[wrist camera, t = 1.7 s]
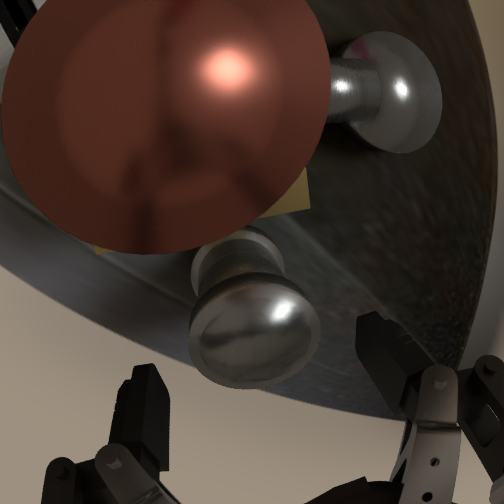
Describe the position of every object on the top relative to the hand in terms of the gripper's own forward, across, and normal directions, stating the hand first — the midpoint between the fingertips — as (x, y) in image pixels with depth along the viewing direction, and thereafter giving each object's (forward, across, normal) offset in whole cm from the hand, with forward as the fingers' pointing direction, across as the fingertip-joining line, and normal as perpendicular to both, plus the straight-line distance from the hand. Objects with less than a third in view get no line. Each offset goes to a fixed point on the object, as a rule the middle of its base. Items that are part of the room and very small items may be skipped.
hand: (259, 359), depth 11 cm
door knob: (+8, 0, 0) cm, 8 cm away
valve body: (+7, -5, -9) cm, 13 cm away
